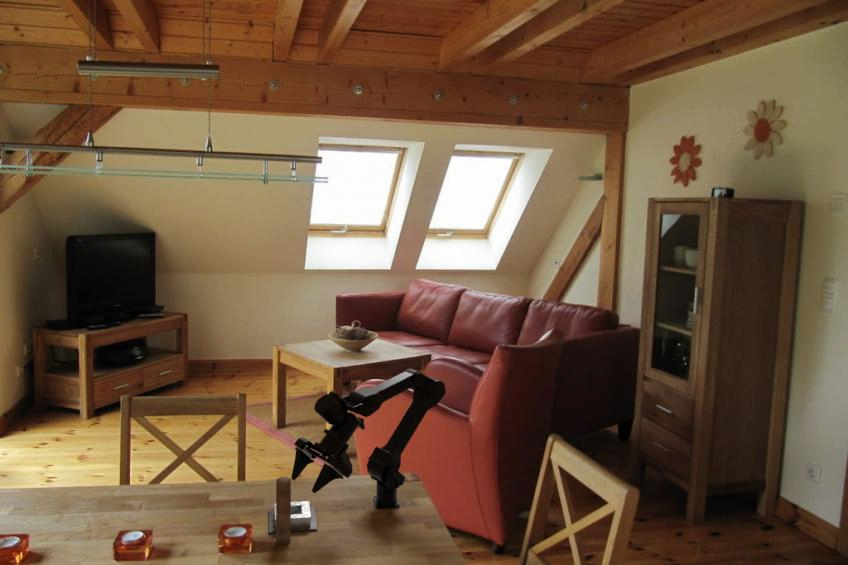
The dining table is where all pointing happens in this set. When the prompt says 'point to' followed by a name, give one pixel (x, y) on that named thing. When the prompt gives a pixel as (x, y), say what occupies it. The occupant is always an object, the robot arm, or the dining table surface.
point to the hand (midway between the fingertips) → (302, 485)
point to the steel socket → (296, 518)
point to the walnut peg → (283, 510)
